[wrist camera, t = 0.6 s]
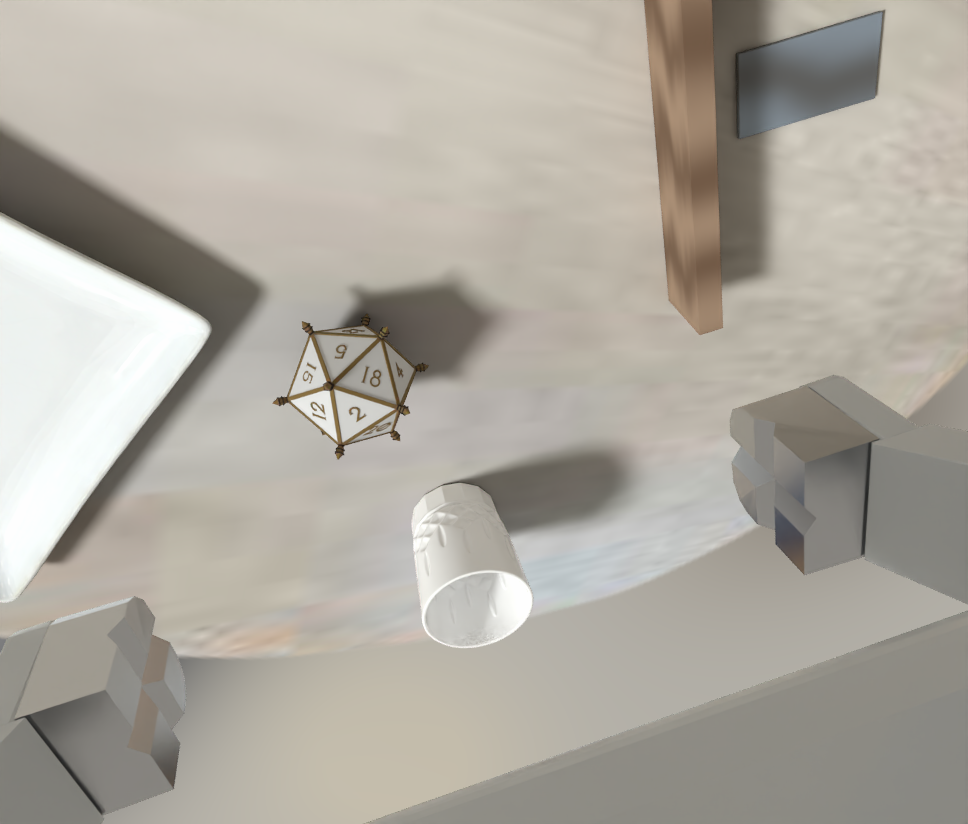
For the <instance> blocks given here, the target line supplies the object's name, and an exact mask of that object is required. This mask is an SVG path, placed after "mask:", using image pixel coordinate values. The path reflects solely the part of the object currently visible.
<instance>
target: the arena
mask: <svg viewBox="0 0 968 824" xmlns="http://www.w3.org/2000/svg"><path fill="white" fill-rule="evenodd" d="M644 3H645V15H646V28H647V40H648V52H649V64H650V76H651V89H652V101H653V113H654V125H655V137H656V149H657V162H658V174H659V186H660V198H661V210H662V222H663V235H664V247H665V259H666V271H667V283H668V295H669V301H670V302H671V303H672V304H673V306H674V307H675V308H676V309H677V310H678V311H679V312H680V313H681V315H682V316H683V317H684V318H685V319H686V320H687V321H688V323H689V324H690V325H691V326H692V327H693V328H694V329H695V330H696V332H697V333H698V334H699V335H702V334H705V333H708V332H712V331H715V330H718V329H721V328H723V316H722V287H721V257H720V227H719V197H718V168H717V138H716V108H715V78H714V48H713V19H712V0H644ZM882 13H883V12H880V11H879V12H875V13H872V14H869V15H865V16H862V17H858V18H855V19H852V20H848V21H845V22H842V23H838V24H835V25H832V26H828V27H825V28H821V29H818V30H815V31H811V32H808V33H805V34H801V35H798V36H795V37H791V38H788V39H784V40H781V41H778V42H774V43H771V44H768V45H764V46H761V47H758V48H754V49H751V50H747V51H744V52H741V53H737V54H736V73H737V133H738V138H739V139H741V138H745V137H748V136H751V135H755V134H758V133H761V132H765V131H768V130H771V129H775V128H778V127H781V126H784V125H788V124H791V123H794V122H798V121H801V120H804V119H808V118H811V117H814V116H818V115H821V114H824V113H828V112H831V111H834V110H837V109H841V108H844V107H847V106H851V105H854V104H857V103H861V102H864V101H867V100H871V99H874V98H875V91H876V80H877V69H878V58H879V47H880V36H881V25H882Z"/></svg>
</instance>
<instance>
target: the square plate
mask: <svg viewBox="0 0 968 824" xmlns="http://www.w3.org/2000/svg"><path fill="white" fill-rule="evenodd" d="M211 332H212V327H211V325H210V323H209V321H208V320H207V319H205V318H204V317H202V316H201V315H200V314H198V313H197V312H195V311H194V310H192V309H190V308H188V307H187V306H185V305H183V304H181V303H179V302H178V301H176V300H174V299H172V298H170V297H168V296H167V295H165V294H163V293H161V292H159V291H157V290H155V289H153V288H151V287H149V286H147V285H145V284H143V283H141V282H139V281H137V280H135V279H133V278H130V277H128V276H126V275H124V274H122V273H120V272H118V271H116V270H114V269H112V268H110V267H108V266H106V265H104V264H102V263H100V262H98V261H96V260H94V259H92V258H90V257H88V256H86V255H84V254H82V253H80V252H78V251H76V250H74V249H72V248H69V247H67V246H65V245H63V244H61V243H59V242H57V241H55V240H53V239H51V238H49V237H47V236H45V235H43V234H41V233H39V232H37V231H36V230H34V229H32V228H30V227H28V226H26V225H24V224H22V223H20V222H18V221H16V220H14V219H13V218H11V217H9V216H7V215H5V214H3V213H1V212H0V602H11V601H14V600H15V599H17V598H18V597H19V596H20V595H21V594H22V593H23V591H24V590H25V589H26V588H27V586H28V585H29V584H30V582H31V581H32V580H33V578H34V577H35V576H36V574H37V573H38V571H39V570H40V568H41V567H42V565H43V564H44V562H45V561H46V559H47V558H48V556H49V555H50V553H51V552H52V550H53V549H54V547H55V546H56V544H57V543H58V541H59V540H60V538H61V537H62V536H63V534H64V533H65V531H66V530H67V528H68V527H69V526H70V524H71V523H72V521H73V520H74V518H75V517H76V516H77V514H78V512H79V511H80V509H81V508H82V506H83V505H84V504H85V502H86V501H87V500H88V498H89V497H90V495H91V494H92V493H93V491H94V490H95V488H96V487H97V486H98V484H99V483H100V482H101V480H102V479H103V478H104V476H105V475H106V474H107V472H108V471H109V470H110V468H111V467H112V466H113V464H114V463H115V462H116V460H117V459H118V458H119V456H120V455H121V454H122V452H123V451H124V450H125V449H126V448H127V446H128V445H129V443H130V442H131V441H132V440H133V438H134V437H135V436H136V434H137V433H138V432H139V431H140V429H141V428H142V427H143V425H144V424H145V423H146V421H147V420H148V419H149V417H150V416H151V414H152V413H153V412H154V411H155V410H156V409H157V407H158V406H159V405H160V404H161V402H162V401H163V400H164V398H165V397H166V396H167V394H168V393H169V392H170V390H171V389H172V388H173V386H174V385H175V384H176V383H177V381H178V380H179V379H180V377H181V376H182V375H183V373H184V372H185V371H186V369H187V368H188V367H189V366H190V365H191V363H192V362H193V360H194V359H195V358H196V356H197V355H198V353H199V352H200V351H201V349H202V348H203V346H204V345H205V343H206V342H207V340H208V339H209V336H210V334H211Z"/></svg>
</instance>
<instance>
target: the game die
mask: <svg viewBox="0 0 968 824" xmlns="http://www.w3.org/2000/svg"><path fill="white" fill-rule="evenodd" d="M361 319H362V321H361V322H362V325H360V326H352V327H344V328H337V329H329V330H321V331H313V329H312V326H310V323H306V322H303V321H302V326H303V328H302V329H303V330H305V332H306V333H308V334H309V337H308V340H307V343H306V345H305V348H304V351H303V354H302V356H301V359H300V362H299V365H298V367H297V370H296V373H295V376H294V379H293V381H292V384H291V387H290V390H289V392H288V395H287V397H282V396H281V397H280V398H278V397H277V399H276V400H275V401H274V402H273V404H276V405H279V406H280V405H284V404H285V403H290V404H291V405H292V406H293V407H294V408H295V409H297V410H298V411H299V412H300V413H301V414H302V415H304V416H305V417H306V418H307V419H308V420H309V421H311V422H312V423H313V424H314V425H315V426H316V427H317V428H319V429H320V430H321V432H322V435H325V434H326V435H327V436H328V437H329V438H330V439H331V440H333V441H334V442H335V443H336V444H337V445H338V447H337V448H336V451H335V454H336V456H337V459H339V458H340V457H341V456H342V455H344V454H343V453H344V451H345V450H344V448H343V447H344V446H345V445H348V444H352V443H355V442H359V441H363V440H366V439H370V438H373V437H377V436H380V435H384V434H388V433H390V434H391V437H392V438H393V440H397V441H400V435H399V433H398V432H397V431H394V428H395V426H396V423H397V421H398V418H399V415H400V413H401V414H403V415H404V416H405V415H407V414H410V412H409V409H408V407H406V406H405V405H404V402H405V400H406V397H407V394H408V392H409V389H410V386H411V384H412V381H413V379H414V376H415V373H416V372H417V371H420V372H421V371H425V370H426V369H427V367H428V365H426V364H423V363H422V364H418V365H417V366H414V365H413V364H412V363H411V362H410V361H409V360H407V359H406V358H405V357H404V356H403V355H402V354H401V353H400V352H399V351H398V350H397V349H396V348H394V347H393V346H392V345H391V344H390V343H389V342H388V341H387V340H386V339H385V337H387V335H388V334H389V331H388V326H387V327H384V328H383V327H382V328H381V330H380V332H379V334H378V333H377V332H375V331H374V330H372V329H371V328H369V327H368V326H367V325H369V322H370V318H369V316H368V314H366V315H365V316H364V317H362V318H361ZM403 405H404V406H403Z"/></svg>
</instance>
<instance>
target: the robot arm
mask: <svg viewBox="0 0 968 824" xmlns="http://www.w3.org/2000/svg"><path fill="white" fill-rule="evenodd" d="M730 436H731V437H732V438H733V439H734V440H735V441H736V442H737V443H738V444H739V445H740V446H741V447H740V449H739V450H738V452H737V454H736V456H735V457H734V459H733V461H732V470H733V481H734V484H735V487H736V490H737V493H738V496H739V499H740V501H741V503H742V505H743V506H744V508H745V510H746V511H747V513H748V514H749V515H750V516H751V517H752V519H753V520H754V521H755V522H756V523H757V524H758V525H761V526H765V527H768V528H771V529H774V530H775V543H776V545H777V546H778V547H779V548H780V549H781V551H782V552H783V553H784V554H785V555H786V556H787V557H788V558H789V559H790V560H791V561H792V563H793V564H794V565H795V566H796V567H797V568H798V569H799V570H800V571H801V572H802V573H803V574H804V575H807V574H810V573H813V572H816V571H819V570H823V569H826V568H829V567H833V566H836V565H839V564H842V563H846V562H849V561H852V560H855V559H858V558H862V557H865V560H866V561H869V562H871V563H873V564H876V565H878V566H880V567H883V568H885V569H888V570H890V571H892V572H894V573H897V574H899V575H901V576H903V577H906V578H908V579H910V580H913V581H915V582H917V583H919V584H922V585H924V586H926V587H929V588H931V589H933V590H936V591H938V592H940V593H943V594H945V595H947V596H950V597H952V598H954V599H956V600H959V601H961V602H963V603H966V604H968V431H965V430H960V429H955V428H949V427H944V426H938V425H933V424H928V425H925V426H921V427H918V426H917V425H915V424H914V423H912V422H911V421H909V420H908V419H906V418H905V417H903V416H902V415H900V414H899V413H897V412H896V411H894V410H892V409H891V408H889V407H888V406H886V405H885V404H883V403H882V402H880V401H879V400H877V399H876V398H874V397H873V396H871V395H870V394H868V393H867V392H865V391H864V390H862V389H861V388H859V387H858V386H856V385H855V384H853V383H852V382H850V381H849V380H847V379H846V378H844V377H842V376H836V375H832V376H829V377H826V378H823V379H820V380H817V381H814V382H812V383H809V384H806V385H803V386H800V387H799V388H797V389H794V390H791V391H788V392H785V393H782V394H779V395H776V396H773V397H769V398H766V399H763V400H760V401H757V402H754V403H751V404H748V405H745V406H742V407H739V408H736V409H733V410H732V414H731V417H730ZM154 622H155V617H154V615H153V614H152V612H151V611H150V609H149V608H148V606H147V605H146V603H145V602H144V600H143V599H140V598H137V597H135V596H134V597H130V598H127V599H123V600H120V601H116V602H113V603H110V604H106V605H103V606H99V607H96V608H92V609H89V610H86V611H82V612H79V613H75V614H72V615H68V616H65V617H62V618H58V619H56V620H54V621H48V622H45V623H42V624H39V625H35V626H32V627H29V628H26V629H23V630H20V631H17V632H15V633H14V634H13V635H11V636H10V637H8V638H7V640H6V642H5V645H4V647H3V649H2V652H1V654H0V824H101V823H102V822H103V820H104V818H103V815H105V814H108V813H111V812H114V811H116V810H119V809H121V808H124V807H127V806H130V805H133V804H135V803H138V802H141V801H143V800H146V799H149V798H152V797H154V796H157V795H160V794H162V793H165V792H168V791H171V790H173V789H174V784H175V777H176V769H177V762H178V755H179V748H180V742H179V740H178V739H177V737H176V735H175V734H174V732H173V731H172V729H173V728H174V726H175V725H176V724H177V722H178V721H179V720H180V718H181V717H182V716H183V714H184V711H185V701H186V689H185V681H184V674H183V670H182V667H181V664H180V662H179V659H178V656H177V654H176V653H175V651H174V649H173V647H172V646H171V644H170V642H168V641H165V640H163V639H161V638H158V637H156V636H154V635H152V632H153V627H154ZM364 824H968V611H965V612H962V613H960V614H957V615H954V616H951V617H948V618H945V619H943V620H940V621H937V622H934V623H931V624H929V625H926V626H923V627H920V628H917V629H915V630H912V631H909V632H906V633H903V634H901V635H898V636H895V637H892V638H889V639H886V640H884V641H881V642H878V643H875V644H872V645H870V646H867V647H864V648H861V649H859V650H856V651H853V652H850V653H847V654H844V655H842V656H839V657H836V658H833V659H830V660H827V661H824V662H821V663H819V664H816V665H813V666H810V667H807V668H804V669H801V670H799V671H796V672H793V673H790V674H787V675H784V676H782V677H779V678H776V679H773V680H770V681H767V682H764V683H761V684H759V685H756V686H753V687H750V688H747V689H744V690H742V691H739V692H736V693H733V694H730V695H727V696H724V697H721V698H719V699H716V700H713V701H710V702H707V703H704V704H702V705H699V706H696V707H693V708H690V709H687V710H685V711H681V712H679V713H676V714H673V715H670V716H667V717H665V718H661V719H659V720H656V721H653V722H650V723H647V724H644V725H641V726H639V727H636V728H633V729H630V730H627V731H624V732H622V733H619V734H616V735H613V736H610V737H608V738H605V739H602V740H599V741H596V742H593V743H590V744H588V745H585V746H582V747H579V748H576V749H574V750H571V751H568V752H565V753H562V754H559V755H556V756H554V757H551V758H548V759H546V760H542V761H540V762H537V763H534V764H531V765H529V766H526V767H523V768H520V769H517V770H514V771H511V772H508V773H506V774H503V775H500V776H497V777H494V778H491V779H489V780H486V781H483V782H480V783H478V784H474V785H472V786H469V787H466V788H463V789H460V790H457V791H455V792H452V793H449V794H446V795H443V796H441V797H438V798H435V799H432V800H429V801H426V802H423V803H421V804H418V805H415V806H412V807H409V808H406V809H404V810H401V811H398V812H395V813H392V814H390V815H387V816H384V817H381V818H378V819H376V820H373V821H370V822H367V823H364Z"/></svg>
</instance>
